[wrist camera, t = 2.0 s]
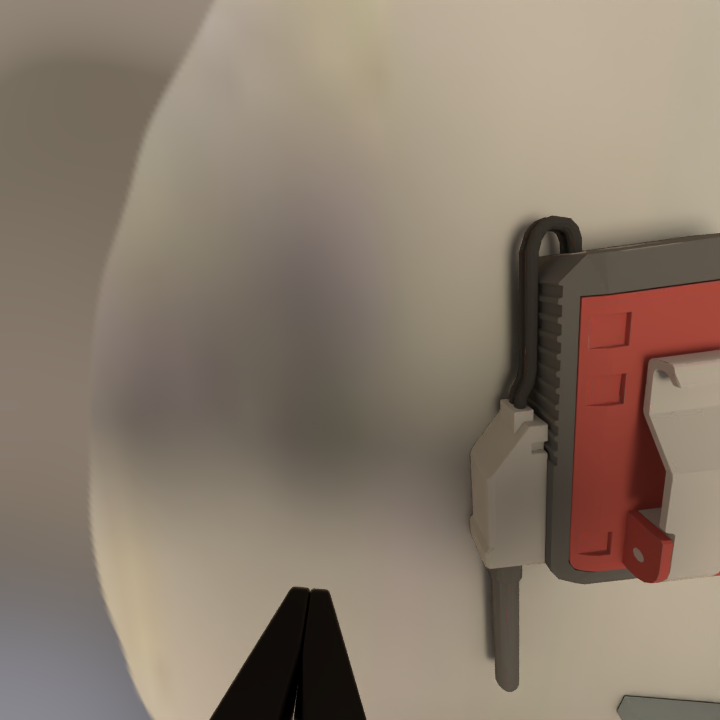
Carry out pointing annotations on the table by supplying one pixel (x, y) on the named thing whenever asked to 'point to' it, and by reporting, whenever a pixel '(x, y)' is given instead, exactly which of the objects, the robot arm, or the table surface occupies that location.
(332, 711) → the robot arm
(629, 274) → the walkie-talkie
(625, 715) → the mounting bracket
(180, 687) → the table surface
